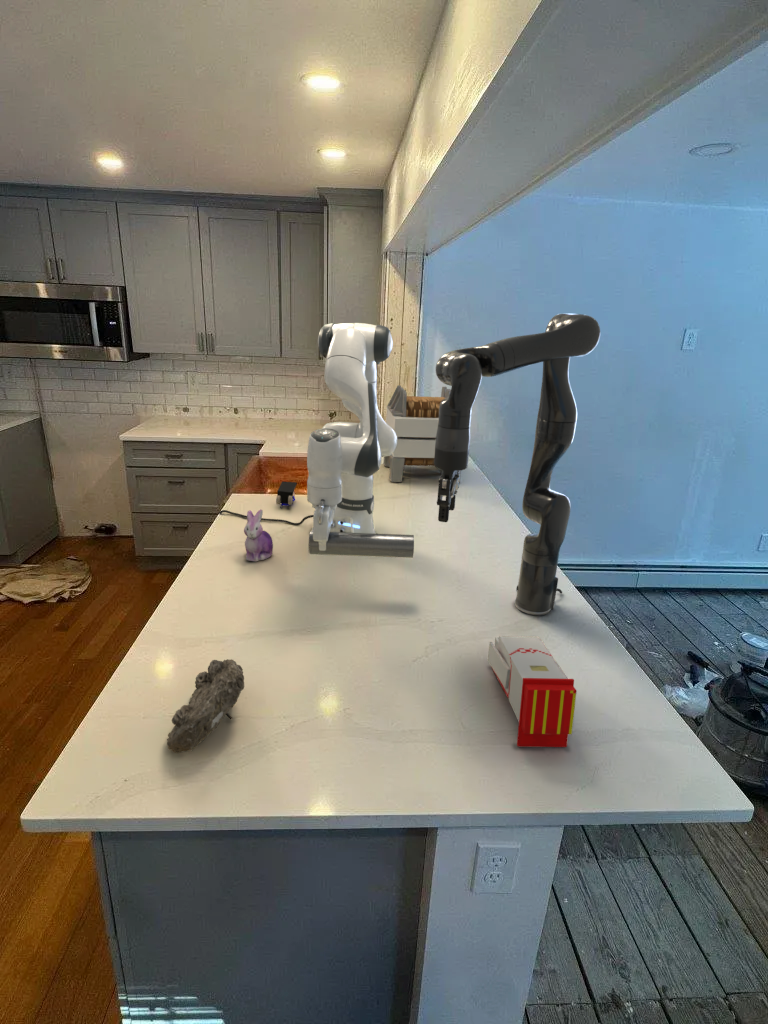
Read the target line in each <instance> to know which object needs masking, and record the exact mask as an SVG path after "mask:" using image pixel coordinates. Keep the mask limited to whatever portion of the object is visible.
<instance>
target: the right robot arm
mask: <svg viewBox="0 0 768 1024" xmlns="http://www.w3.org/2000/svg"><path fill="white" fill-rule="evenodd" d="M600 338H601V327H600V323H599V322H598V320H597V319H596V318H594V317H593V316H591V315H588V314H584V313H583V314H581V313H558V314H557V313H556V314H555V315H554V316H552V318H550V320H549V321H548V322H547V325H546V327H545V332H544V331H543V332H540V333H539V332H538V333H532V334H525V335H517V336H512V337H507V338H503V339H499V340H496V341H492V342H489V343H486V344H483V345H479V346H472V347H471V346H470V347H466V348H460V349H455V350H451V351H448V352H446V353H443V355H442V356H440V357H439V359H438V360H437V362H436V365H435V375H436V377H437V379H438V380H439V381H440V382H441V383H443V384H444V385H447V386H450V390H451V391H450V395H449V398H445V399H443V400H442V401H441V403H440V406H439V418H438V428H437V433H436V441H435V455H434V466H433V467H436V469H437V470H438V469H442V470H443V473H442V474H441V475H440V476H439V479H438V488H437V500H436V506H438V514H437V515H438V517H437V521H438V522H440V523H448V522H449V517H450V511H454V510H455V508H456V497H457V496H456V495H457V493H458V490H459V488H460V482H459V478H460V479H461V474H460V475H459V473H460V471H461V472H462V471H464V470H466V469H468V466H469V458H470V457H469V456H470V455H469V454H470V445H471V424H472V423H471V422H472V411H473V406H474V404H475V401H476V399H477V395H478V392H479V389H480V386H481V383H482V378H483V377H484V378H485V377H486V378H493V377H497V376H501V375H503V374H507V373H509V372H512V371H515V370H519V369H522V368H525V367H529V366H532V365H536V364H539V363H540V364H541V363H542V378H541V386H540V397H539V405H538V411H537V418H536V425H535V434H534V443H533V449H532V456H531V463H530V467H529V472H528V476H527V481H526V484H525V489H524V493H523V498H522V504H521V506H522V507H521V508H522V509H521V510H522V514H523V516H524V517H525V518H527V519H528V520H529V521H532V522H534V523H536V524H538V525H540V527H539V531H538V532H532V533H529V534H527V535H526V536H525V537H524V540H523V546H522V553H521V562H520V569H519V574H518V582H517V586H516V587H515V588H516V590H515V591H516V598H515V601H514V606H515V608H516V609H517V610H519V611H520V612H521V613H524V614H527V615H531V616H545V615H547V614H549V613H550V612H551V611H554V607H555V602H556V595H557V592H559V594H563V590H561V588H558V584H559V577H558V576H557V571H558V570H557V569H558V563H559V556H560V551H561V548H562V545H563V543H564V541H565V538H566V533H567V529H568V524H569V520H570V515H571V501H570V498H569V497H568V496H566V495H565V494H563V493H561V492H558V491H555V490H553V489H551V481H552V476H553V471H554V469H555V467H556V465H557V464H558V463H559V461H560V460H561V459H562V457H563V456H564V455H565V454H566V452H567V451H568V450H569V448H571V446H572V444H573V441H574V438H575V433H576V427H577V420H578V409H577V403H576V400H575V396H574V394H573V393H574V392H573V391H572V386H571V383H570V378H569V369H570V360H571V358H572V357H573V358H575V357H577V358H578V357H584V356H586V355H589V354H590V353H591V352H592V351H594V350H595V348H596V347H597V346H598V344H599V342H600ZM444 497H445V499H443V498H444Z"/></svg>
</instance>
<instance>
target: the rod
mask: <svg viewBox="0 0 768 1024" xmlns="http://www.w3.org/2000/svg"><path fill="white" fill-rule="evenodd" d="M326 542H327V547H326V550H325V551H320V550H319V542H318V541H314V540H313V531H311V530H310V531H309V536H308V555H320V556H321V555H323V556H345V557H347V556H349V557H376V558H377V557H378V558H401V559H402V558H403V559H408V558H409V559H414V553H415V535H414V534H402V533H401V534H400V533H396V534H395V533H376V534H374V533H347V532H330V533H329V537H328V541H326Z"/></svg>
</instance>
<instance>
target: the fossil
mask: <svg viewBox="0 0 768 1024" xmlns="http://www.w3.org/2000/svg"><path fill="white" fill-rule="evenodd" d="M243 670H244V669H243V667H242V665H240V664H237V662H236V661H235V660H234V659H232V658H231V659H227V658H226V659H224V660H223V661H222V660H217V659H212V660H211V661H210V663H209V665H208V666H207V671H201V672H199V673H198V674H197V675H196V676H195V680H194V684H195V685H194V687H195V689H194V690H193V693H192V694H191V697H190V698H189V700H188V704H184V705H182V706H181V707H180V709H177V710H176V711H175V713H174V715H173V716H172V718H171V723H172V724H173V727H172V730H171V731H170V732H168V734H167V738H166V741H167V742H166V745H167V749H168V750H169V751H173V752H174V753H176V754H178V753H182V752H188V751H189V752H192V751H193V750H195V748H196V747H197V746H199V744H200V743H201V742H203V741H204V740H205V739H206V738H207V737H208V736H209V735H210V734H211V733H212V732H214V730H215V729H217V727H218V726H219V724H220V722H221V721H222V720H223V719H224V718H225V716H226V717H227V719H229V720H233V717H232V715H230V714H229V710H230V709H231V708H234V706H235V704H236V703H237V702H238V699H239V697H240V695H241V693H242V691H243V690H245V689H244V688H245V675H244V671H243Z"/></svg>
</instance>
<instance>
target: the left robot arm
mask: <svg viewBox="0 0 768 1024" xmlns="http://www.w3.org/2000/svg"><path fill="white" fill-rule="evenodd" d="M393 345H394V342H393V336H392V333H391V330H390V329H389V327H388V326H385V325H382V324H371V323H364V322H345V323H344V322H343V323H335V322H330V323H326V324H323V326H322V327H320V329H319V333H318V337H317V346H318V350H319V353H320V355H321V356H322V357H323V358H324V359H325V364H324V371H323V372H324V373H323V374H324V375H323V377H324V378H323V379H324V383H325V386H326V388H328V390H329V391H330V392H331V393H332V394H333V395H335V396H336V397H337V398H339V399H341V403H342V405H343V407H344V408H345V409H346V410H347V411H348V412H350V413H352V414H353V415H355V416H356V417H357V418H358V420H359V422H351V421H335V422H327V423H325V424H324V425H323V426H322V427H321V428H318V429H315V430H313V431H312V432H311V433H310V434H309V437H308V444H307V452H306V455H307V456H306V468H307V471H308V476H307V480H306V492H307V493H306V500H307V502H308V503H309V504H311V507H312V508H313V509H314V511H313V514H310V515H306V516H305V517H303V518H302V519H301V520H300V521H299V522H292V521H289V520H285V519H278V518H277V519H276V518H264V517H262V518H261V521H264V522H279V523H286V524H289V525H293V526H300V525H302V524H303V523H304V522H305V520H307V519H311V518H313V519H312V528H311V530H310V531H313V540H314V541H318V542H319V550H320V551H325V550H326V547H327V542H326V541H328V537H329V533H330V532H347V533H374V534H377V532H376V528H375V523H374V513H373V512H374V509H375V496H374V474H376V473H377V472H378V471H379V470H380V467H381V465H382V458H384V457H386V456H390V455H391V454H392V453H393V452H394V451H395V449H396V446H397V436H396V433H395V431H394V430H393V429H392V428H391V427H390V426H389V425H388V424H387V423H386V420H384V418H383V417H382V415H381V413H380V410H379V406H378V398H377V397H378V396H377V395H378V394H377V385H378V384H377V383H378V382H377V380H378V379H377V378H378V372H377V365H380V364H381V363H383V362H385V361H386V360H387V359H389V358H390V354H391V352H392V350H393V347H394V346H393ZM223 513H227V514H230V515H234V516H237V517H241V518H245V519H247V515H245V514H241V513H238V512H233V511H231V510H226V509H222V510H220V511H219V512H218V515H221V514H223Z"/></svg>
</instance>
